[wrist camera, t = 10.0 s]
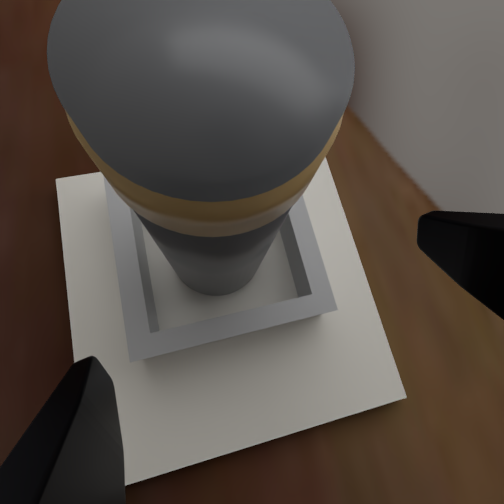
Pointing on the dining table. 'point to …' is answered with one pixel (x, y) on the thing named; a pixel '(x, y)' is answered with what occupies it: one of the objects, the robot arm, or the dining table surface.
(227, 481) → the dining table surface
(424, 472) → the dining table surface
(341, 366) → the socket plate
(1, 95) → the dining table surface
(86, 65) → the grey can
